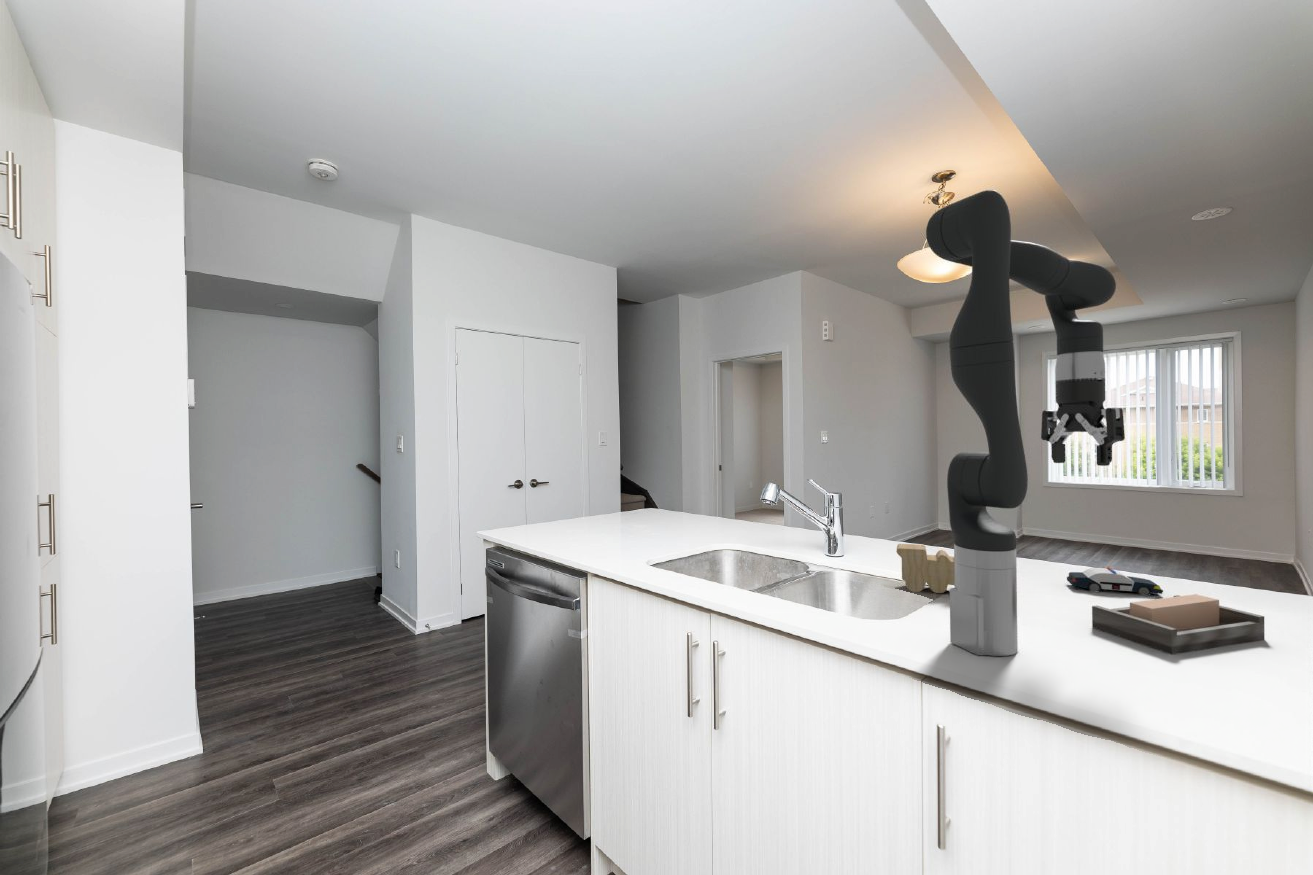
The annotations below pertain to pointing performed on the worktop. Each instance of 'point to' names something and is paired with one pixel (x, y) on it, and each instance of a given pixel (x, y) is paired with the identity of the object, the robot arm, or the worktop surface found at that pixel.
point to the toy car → (1112, 581)
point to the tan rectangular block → (1179, 611)
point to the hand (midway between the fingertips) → (1080, 464)
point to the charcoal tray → (1228, 632)
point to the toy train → (925, 568)
